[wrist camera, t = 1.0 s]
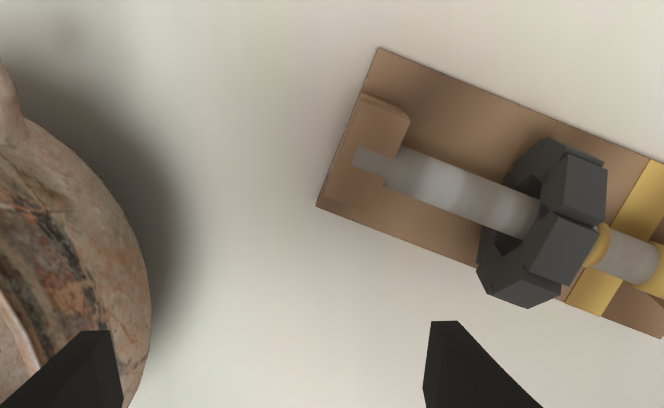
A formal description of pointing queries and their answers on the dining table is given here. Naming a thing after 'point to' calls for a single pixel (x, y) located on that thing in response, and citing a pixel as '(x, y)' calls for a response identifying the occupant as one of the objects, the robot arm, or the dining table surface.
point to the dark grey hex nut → (546, 225)
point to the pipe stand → (490, 184)
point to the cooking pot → (62, 256)
